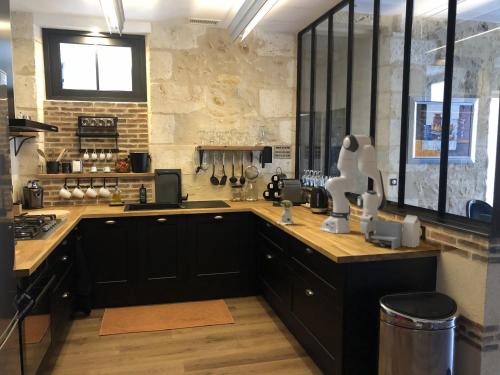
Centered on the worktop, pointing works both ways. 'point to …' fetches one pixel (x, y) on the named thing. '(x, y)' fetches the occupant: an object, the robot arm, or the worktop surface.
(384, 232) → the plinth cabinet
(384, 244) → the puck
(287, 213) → the potted plant
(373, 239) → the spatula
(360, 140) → the robot arm
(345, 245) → the worktop surface
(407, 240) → the milk carton
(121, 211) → the worktop surface
